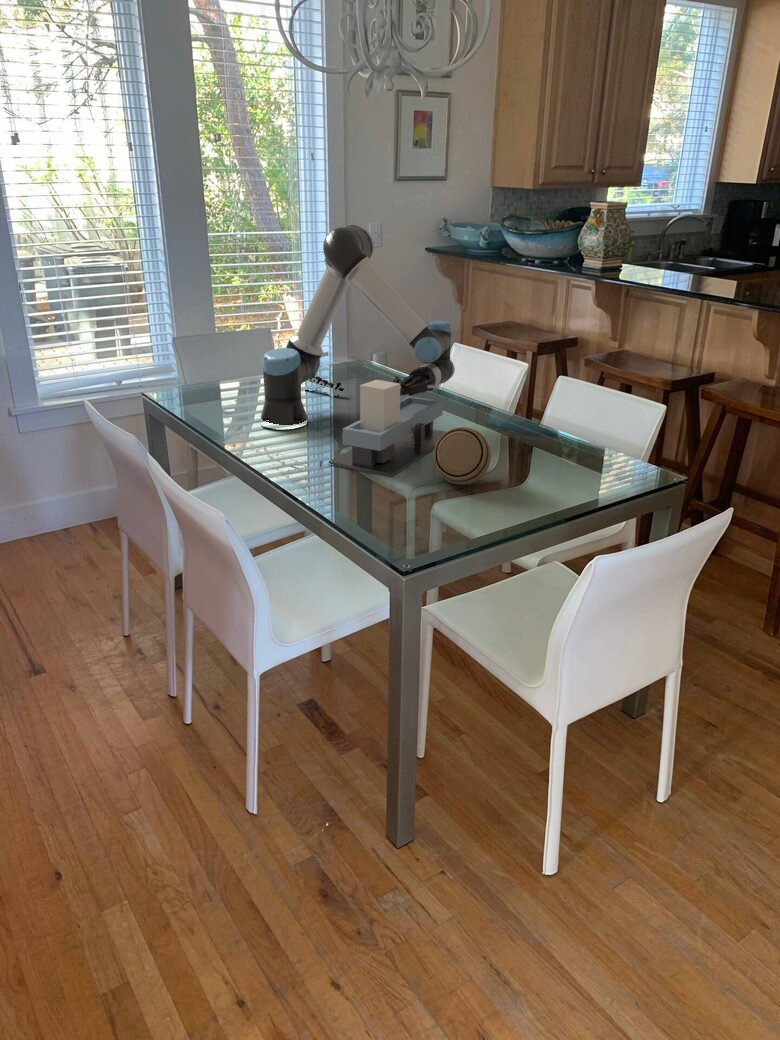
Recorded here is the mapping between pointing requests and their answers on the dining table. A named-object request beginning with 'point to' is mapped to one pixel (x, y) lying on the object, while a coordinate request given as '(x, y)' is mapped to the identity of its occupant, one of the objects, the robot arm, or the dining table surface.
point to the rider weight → (379, 405)
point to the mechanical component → (462, 455)
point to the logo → (325, 383)
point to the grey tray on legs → (393, 427)
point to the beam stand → (404, 456)
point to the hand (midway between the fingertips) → (388, 395)
